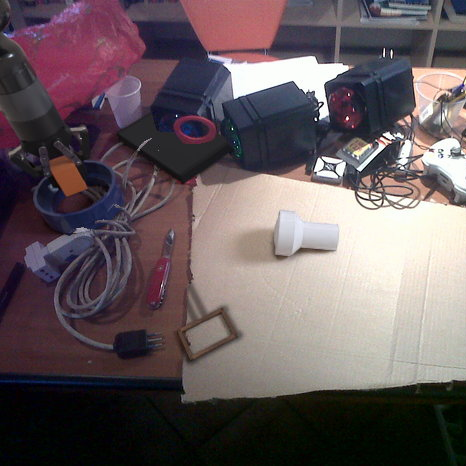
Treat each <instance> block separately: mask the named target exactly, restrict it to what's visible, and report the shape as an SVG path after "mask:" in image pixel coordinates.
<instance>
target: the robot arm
mask: <svg viewBox="0 0 466 466" xmlns="http://www.w3.org/2000/svg"><path fill="white" fill-rule="evenodd" d="M11 20H12V8H11V5H10V3H9V1H8V0H0V112H1V114H2V115H3V117H5V119H6V121H7V122H8V123H9V125H10V127H11V128H12V130H13V131H14V133H15V134H16V136H17V138H18V139H19V145H18V147H16V148H9V149H8V150H7V153H8V157H9V161H10V162H11V163H13V164H14V165H15V166H17V167H18V168H20V169H21V170H22V171H24V172H25V173H26V174H28V175H29V176H31V177H32V178H34V179H39V178H40V177H44V178H45V177H47V179H48V180H49V182H50V183H51V185H52V187H53V188H58V189H59V190H61V187H60V186H59V184H58V182H57V181H56V179H55V177H54V176H53V174H52V172H51V168H50V163H49V161H50V160H53V159H55V158H56V157H60V156H64V155H65V156H66V157H67V158H68V159H70V160H71V161H72V162H73V163H74V164H75V166H76V168H77V170H78V172H79V173H80V175H81V177H82V179H83V181H84V180H87V178H86V177H87V176H88V172H87V169H86V168H85V166H84V164H83V161H84V160H90V159H91V144H90V143H91V142H90V133H89V130H88V127H87V126H86V125H85V124H83V123H81V124H80V125H78V127H70V125H68V124H66V122H64V120H63V118H62V115H61V114H60V112H59V109H58V108H57V107H56V104H55V103H54V100H53V99H52V96H51V95H50V93H49V91H48V89H47V88H46V86H45V84H44V83H43V81H42V80H41V79H40V77H39V75H37V72H36V70H35V68H34V66H33V65H32V63H31V61H30V59H29V57H28V55H27V54H26V52H25V50H24V49H23V47H22V46H21V45H20V44H19V43H17V42H16V41H15V40H14V39H11V38H10V37H9V36H7V35H6V34H5V33H4V31H5V30H6V29H7V28H8V27H9V25H10V24H11ZM73 136H74V137H75V138H76V140H77V141H79V151H78V152H77V151H76V150H75V149H74V148H73V147H72V145H71V141H72V137H73ZM26 153H27V154H30V155H32V156H35V157H37V158H39V162H40V165H36V164H35V163H33V162H32V161H31V160H30V159H28V158H27V156H26Z"/></svg>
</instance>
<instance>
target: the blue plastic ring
mask: <svg viewBox="0 0 466 466" xmlns="http://www.w3.org/2000/svg"><path fill="white" fill-rule="evenodd" d="M83 164H84V166H85V168H86V169H87V172H88V176H87V177H86V178H87V180H84V181H85V184H86V186H87V187H89V186H101V187H104V188H107V189H108V190H107V192H106V193H105V194H104V195H103V196H101V198H100V199H99V200H98V201H96V202H95V203H93V204H91V205H90V206H88V207H86V208H83V209H80V210H78V211H74V212H69V213H57V209H58V206H59V204H60V203H61V201H62V200H63V199H64V198H66V195H65V194H64V192H63V190H62V189H61V190H59V189H58V188H53V187H52V185H51V183H50V182H49V180H48V179H47V177H45V176H44V177H43V179H41V180H40V182H39V183H38V185H37V186H36V187H35V189H34V192H33V198H32V199H33V203H34V206H35V208H36V209H37V211H38V212H39V214H40V215H41V217H42V218H43V219H44V220H45V223H46V224H47V225H48V226H49V227H50V228H51V229H52V230H53V231H55V232H58V233H60V234H64V235H67V234H66V233H68V232H70V231H71V230H73V229H76V228H81V227H84V228H87V229H90V230H91V229H94V230H96V229H99V228H101V227H103V226H105V225H106V224H107V223H98V224H95V221H97V220H103V219H104V220H110V221H112V220H113V219H114V218H115V217H116V216H117V214H118V213H120V211H121V209H122V207H123V204H124V202H125V192H124V189H123V188H122V186H121V183H120V182H119V180H118V177H117V176H116V174H115V171H114V169H113V168H112V167H111V166H110V165H108V164H107V163H105V162H103V161H100V160H99V161H98V160H90V159H88V160H84V161H83ZM115 204H117V205H119V206H120V207H121V208H115V206H114V205H115Z"/></svg>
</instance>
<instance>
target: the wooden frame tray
mask: <svg viewBox="0 0 466 466" xmlns="http://www.w3.org/2000/svg"><path fill="white" fill-rule="evenodd" d="M219 315H222V318H223V319H224V321H225V323H226V325H227V326H228V328H229V330H230V332H231V334H230V335H229V336H227V337H225V338H223V339H221V340H219V341H217V342H215V343H214V344H212V345H211V344H210V345H209V346H208V347H205V348H204V349H201V350H199V351H197V352H195V353H194V354H193V353H192V351H191V348H190V346H189V344H188V342H187V339H186V338H185V335H184V334H183V333H185V332H187V331H189V330H191V329H193V328H195V327H198V326H199V325H201V324H203V323H205V322H208V321H209V320H211V319H213V318H215V317H217V316H219ZM176 332H177V334H178V337H179V339H180V341H181V343H182V346H183V347H184V349H185V352H186V354H187V356H188V358H189V360H190V362H194V361H195V360H197V359H199V358H201V357H203V356H205V355H207V354H209V353H211V352H213V351H215V350H217V349H218V348H220V347H223V346H224V345H226V344H229V343H230V342H231V341H234V340H235V339H237V338H239V334H238V332H237V330H236V329H235V327H234V325H233V324H232V321H231V320H230V317H229V316H228V314H227V312H226V310H225V308H224V307H223V306H222V307H221V308H219V309H216V310H214V311H212V312H210V313H208V314H206V315H204V316H202V317H200V318H198V319H196V320H194V321H192V322H190V323H188V324H186V325H183V326H182V327H180V328H178V329H177V330H176Z"/></svg>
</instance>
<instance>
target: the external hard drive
mask: <svg viewBox="0 0 466 466" xmlns="http://www.w3.org/2000/svg"><path fill="white" fill-rule="evenodd" d="M151 112H152V111H150V112H149V113H147V114H145V115H143V116H142V117H140V118H138V119H137V120H134V121H133V122H131V123H129V124H128V125H126V126H124V127H123V128H121V129H120V130H118V131H117V132H116V136H117V138H118V140H119V141H120V142H122V143H123V144H125V145H126V146H128V147H129V148H131V149H132V150H133V151H135V152H136V150H137V149H138V148H139V146H140V145H141V144H142V143H143V142H144V141H146V140H148V139H150V138H152V139H151V140H150V141H148V142H147V143H146V144H145V145H144V146H143V147H142V148H141V149H140V151H139V152H137V154H139V155H140V156H142V157H143V158H145V159H146V160H147V161H149V162H150V163H152V164H154V166H156V167H158V168H159V169H161V170H162V171H163V172H166V173H167V174H168V175H169V176H170V177H172V178H174V179H175V180H176V181H178V182H180V183H181V184H182V185H185V184H186V183H189V181H190V180H192V179H193V178H195V177H196V176H198V175H199V174H200V173H202V172H203V171H205V170H207V169H208V168H209V167H211V166H212V165H213V164H215V163H216V162H218V161H220V159H222V158H223V157H226V155H228V154H229V153H230V152H232V151H234V149H233V148H232V147H230V146H229V143H228V142H227V141H226V139H225V138H224V137H225V136H224V135H222V134H221V133H219V132H217V133H216V137H215V139H213V140H212V141H209V142H205V143H201V144H184V143H183V142H182V141H181V140H180V139H179V138H178V137H177V136H176V135H175V133H174V132H160V131H157V129H156V127H155V124H154V120H153V117H152V113H151ZM223 136H224V137H223ZM199 137H201V136H199ZM158 150H159V151H158Z"/></svg>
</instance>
